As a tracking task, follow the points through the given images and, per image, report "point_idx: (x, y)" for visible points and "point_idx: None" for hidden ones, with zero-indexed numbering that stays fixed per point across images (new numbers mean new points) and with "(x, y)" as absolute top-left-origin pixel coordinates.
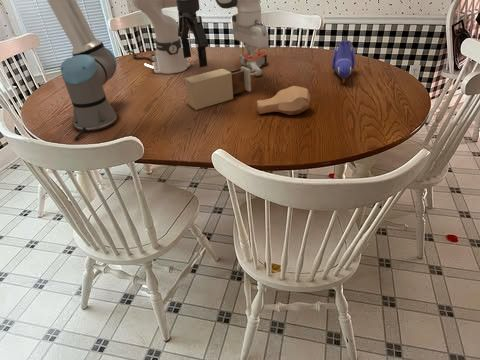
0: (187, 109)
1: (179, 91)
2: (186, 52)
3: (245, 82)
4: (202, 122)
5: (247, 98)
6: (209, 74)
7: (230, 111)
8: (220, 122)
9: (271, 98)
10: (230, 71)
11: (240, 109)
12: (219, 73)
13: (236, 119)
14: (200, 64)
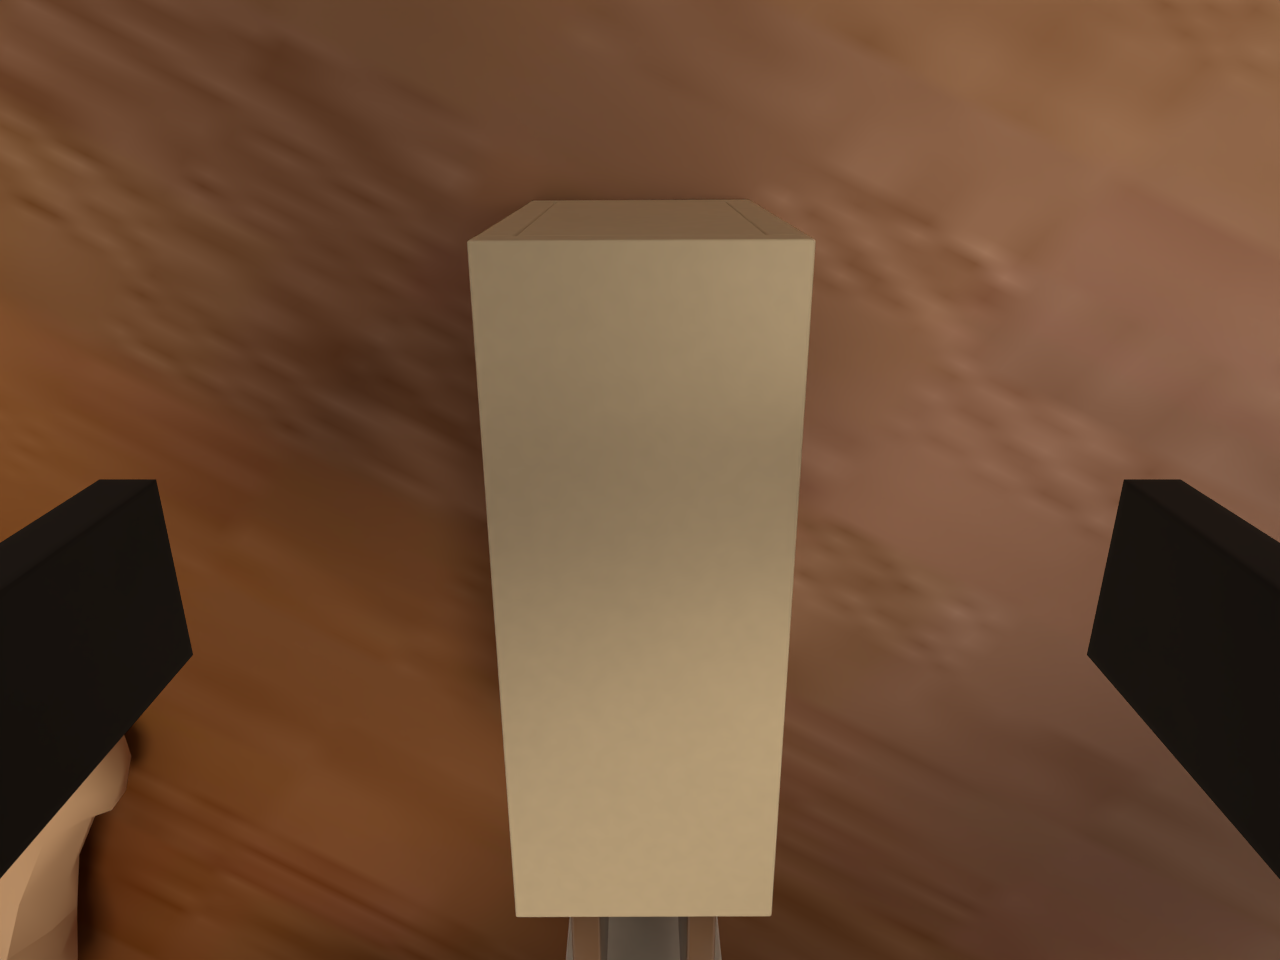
0: (617, 116)
1: (1225, 287)
2: (1190, 621)
3: (627, 929)
4: (150, 105)
5: (475, 782)
6: (669, 662)
7: (271, 508)
8: (55, 287)
9: (3, 901)
10: (686, 938)
11: (264, 609)
12: (602, 789)
13: (52, 462)
14: (52, 515)
